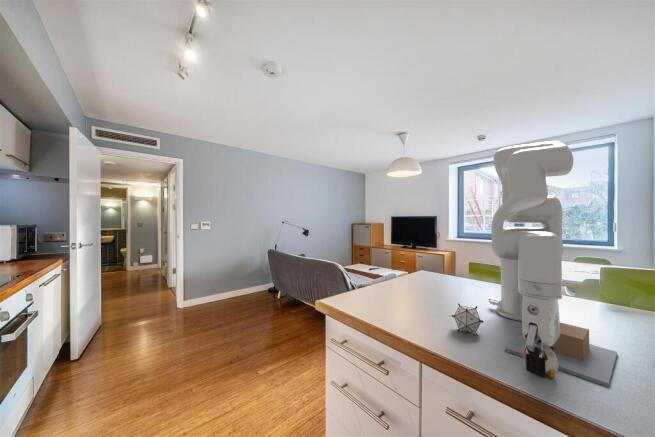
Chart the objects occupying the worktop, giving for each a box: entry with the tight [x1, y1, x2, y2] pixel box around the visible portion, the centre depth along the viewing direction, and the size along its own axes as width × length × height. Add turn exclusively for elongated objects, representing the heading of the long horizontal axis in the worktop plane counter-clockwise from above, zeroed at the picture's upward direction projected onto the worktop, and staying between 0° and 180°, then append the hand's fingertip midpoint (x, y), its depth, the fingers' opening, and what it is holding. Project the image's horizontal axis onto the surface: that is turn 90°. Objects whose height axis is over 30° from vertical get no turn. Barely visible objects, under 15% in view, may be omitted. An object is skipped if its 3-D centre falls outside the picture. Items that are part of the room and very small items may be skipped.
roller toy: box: [523, 344, 559, 379], centre depth 56 cm, size 4×6×6 cm
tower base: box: [504, 322, 618, 388], centre depth 64 cm, size 18×20×6 cm
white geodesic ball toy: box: [450, 302, 484, 336], centre depth 76 cm, size 9×8×10 cm
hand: (540, 367), depth 56 cm, fingers closed on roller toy, 6 cm apart
